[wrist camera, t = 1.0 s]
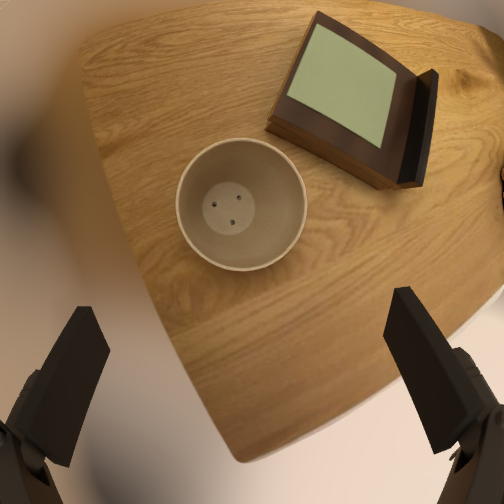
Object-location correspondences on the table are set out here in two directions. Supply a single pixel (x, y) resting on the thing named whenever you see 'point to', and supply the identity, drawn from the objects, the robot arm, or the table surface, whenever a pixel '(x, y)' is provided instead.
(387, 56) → the tray
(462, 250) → the table surface
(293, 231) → the flower pot
